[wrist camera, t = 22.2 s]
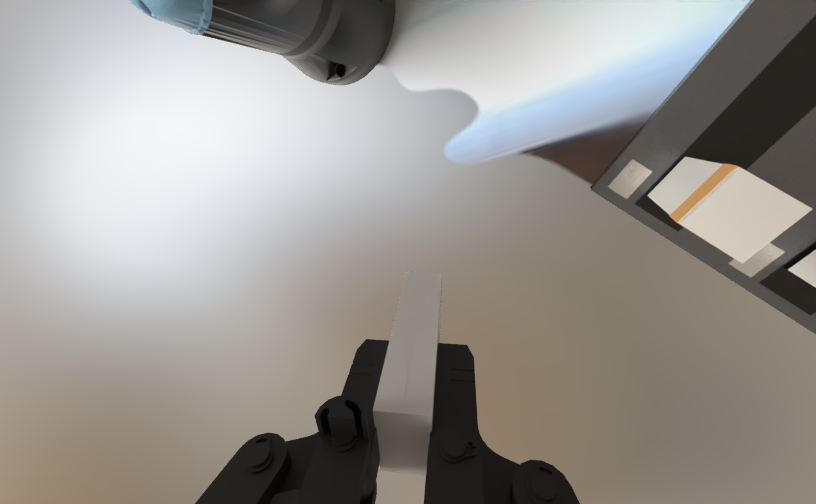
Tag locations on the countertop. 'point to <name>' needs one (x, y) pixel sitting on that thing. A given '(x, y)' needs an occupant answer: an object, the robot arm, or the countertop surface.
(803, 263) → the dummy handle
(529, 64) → the countertop surface
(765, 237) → the handle
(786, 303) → the panel
